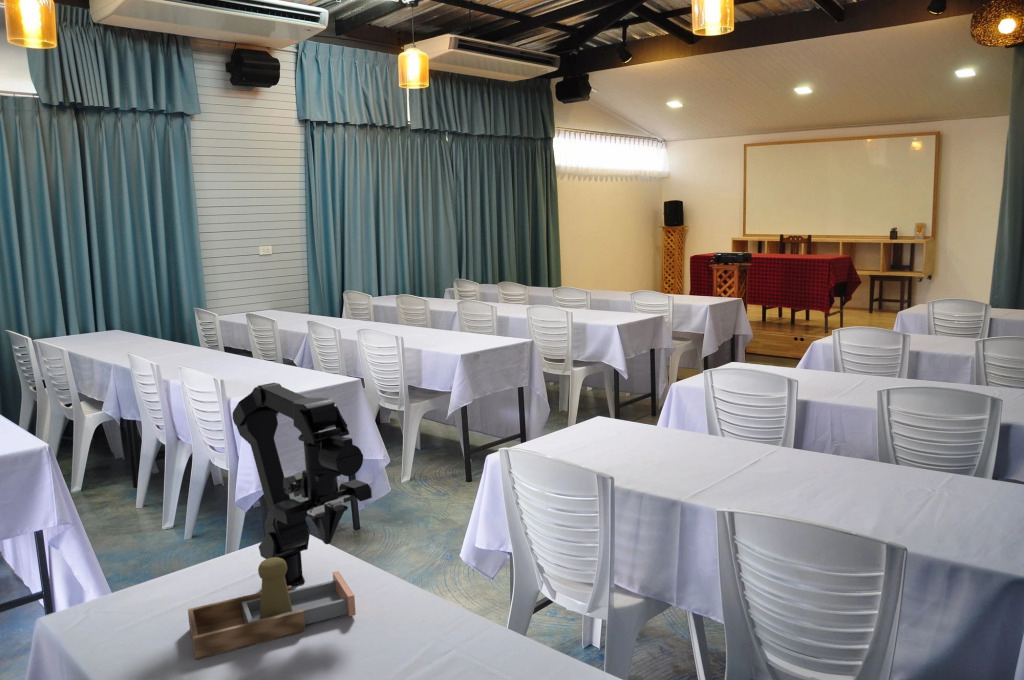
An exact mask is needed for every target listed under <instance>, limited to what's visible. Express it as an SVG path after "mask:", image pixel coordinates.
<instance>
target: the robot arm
mask: <svg viewBox="0 0 1024 680" xmlns="http://www.w3.org/2000/svg"><path fill="white" fill-rule="evenodd" d="M279 413H280V414H282V415H284V416H286V417H288V418H290V419H292V420H293V427H295V428H296V429H297V430H298V431H299V432H300V435H299V436H298V437H297V438H298V440H299V441H301V442H303V449H304V450H303V452H304V462H305V463H304V464H305V466H304V467H305V469H304V470H302V472H301V478H298V479H297V477H296V476H295V475H291V476H286V477H285V473H284V469H283V467H282V463H281V460H280V459H281V458H280V456H279V451H278V448H277V445H276V442H275V435H276V432H277V429H278V426H279V422H278V415H279ZM232 420H233V424H234V425H235V426H236V429H237V431H238V434H239V436H240V437H241V438H242V439H243V440H245V442H246V443H247V444H249V445H250V448H251V451H252V452H251V453H252V455H253V459H254V463H255V466H256V469H257V474H258V477H259V481H260V484H261V485H260V486H261V489H262V492H263V496H264V500H265V503H266V507H267V515H266V519H265V523H264V525H263V527H264V528H263V529H264V534H265V535H264V537H263V539H262V541H261V542H260V544H259V545H258V550H259V554H260V557H262V558H263V559H264V560H266V559H268V558H273V557H278V558H282V559H284V560H285V562H286V564H287V572H286V574H285V579H286V584H287V586H290V585H291V586H295V585H300V584H304V583H305V582H306V580H305V578H304V576H303V563H302V552H303V551H306V550H308V548H309V543H310V535H311V531H310V528H309V525H308V522H307V519H306V517H307V518H310V520H312V522H313V523H314V525H315V527H316V530H317V532H318V533H319V536H320V538H321V540H322V542H323V544H324V545H329V544H331V542H332V541H333V538H334V534H335V532H336V530H337V527H338V525H339V523H340V521H341V519H342V517H343V515H344V513H345V512H346V511H348V510H349V507H348V506H347V505H345V502H344V501H345V500H347V499H349V498H352V497H355V499H356V500H357V501H358V502H364V501H366V500H370V499H372V498H373V492H372V491H373V490H372V489H373V488H372V487H371V485H370V484H369V483H367V482H364V481H361V480H358V479H352V480H349V481H346V482H343V483H340V484H339V483H338V482H339V481H338V477H341V476H345V477H352V476H354V475H355V474H357V473H358V472H359V471H360V469H361V468H362V466H363V461H364V455H363V453H362V450H361V449H360V447H359V446H357V445H355V444H353V438H351V437H345V436H349V435H350V431H349V429H348V424H347V422H346V420H345V419H344V417H343V415H342V413H341V412H340V409H339V408H338V406H337V404H336V402H334V400H333V399H331V398H327V397H307V396H304V395H302V394H300V393H298V392H294V391H293V390H290V389H288V388H286V387H283V386H282V385H281V384H280V383H278V382H271V383H270V382H269V383H265V384H259V385H256V386H255V387H254V388H253V390H252V391H251V392H250V393H248V395H246V396H244V398H242V399H240V400H239V401H238V403H237V405H236V406H235V408H234V409H233V411H232ZM292 493H293V496H294V497H295V498H296V497H299V496H300V495H301V498H304V499H306V498H307V500H304V501H301V502H300V501H298V500H296V499H294V498H291V496H290V494H292Z"/></svg>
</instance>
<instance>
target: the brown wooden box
mask: <svg viewBox="0 0 1024 680" xmlns="http://www.w3.org/2000/svg"><path fill="white" fill-rule="evenodd" d="M292 586H293V585H292ZM292 586H291V585H290V586H287V588H288V591H291V590H293V587H292ZM257 598H261V592H260V591H259V592H257V593H253V594H252V593H251V594H247V595H243V596H238V597H235V598H231V599H227V600H226V599H225V600H221V601H217V602H213V603H208V604H205V605H201V606H195V607H192V608H191V607H190V608H187V614H188V624H189V625H188V627H189V633H190V637H191V643H192V648H193V653H194V656H195V660H197V661H198V660H200V659H204V658H208V657H211V656H215V655H219V654H220V655H221V654H224V653H227V652H231V651H235V650H238V649H243V648H247V647H251V646H254V645H257V644H258V645H259V644H262V643H265V642H269V641H273V640H276V639H282V638H284V637H285V638H286V637H289V636H293V635H297V634H300V633H305V632H306V624H305V619H304V610H303V609H302V610H298V611H294V612H290V613H286V614H282V615H278V616H274V617H270V618H266V619H262V620H258V621H254V622H250V623H246V624H245V621H244V618H243V612H242V602H244V601H248V600H253V599H257Z"/></svg>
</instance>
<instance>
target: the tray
mask: <svg viewBox="0 0 1024 680" xmlns="http://www.w3.org/2000/svg"><path fill="white" fill-rule="evenodd" d="M288 593H289V597H290V602H291V606H292V610H293V611H292V612H294V611H298V610H302V609H303V610H304V619H305V625H309V624H312V623H317V622H321V621H325V620H329V619H332V618H336V617H340V616H344V615H348V617H352V616H356V612H357V611H356V599H355V594H354V592H353V591H352V589H351V588H350V586H349V585H348V583H347V582H346V580H345V579H344V577H343V576H342V574H341V573H340V571H339V570H338V571H334V572H332V580H330V581H326V582H321V583H318V584H317V583H316V584H314V585H308V586H306V587H304V586H303V587H300V588H297V589H292V590H291V591H288ZM260 606H261V598H257V599H253V600H248V601H244V602H242V612H243V618H244V621H245V624H246V623H250V622H254V621H258V620H262V619H260ZM288 613H290V612H288ZM284 614H286V613H284ZM280 615H282V614H280ZM276 616H278V615H276ZM272 617H274V616H272ZM268 618H270V617H268ZM263 619H266V618H263Z"/></svg>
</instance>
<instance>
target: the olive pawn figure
mask: <svg viewBox="0 0 1024 680" xmlns="http://www.w3.org/2000/svg"><path fill="white" fill-rule="evenodd" d="M257 571H258V572H257V573H258V576H259V578H260V579H261V588H260V589H261V590H260V591H261V606H260V619H263V618H268V617H272V616H276V615H280V614H284V613H288V612H292V611H293V610H292V606H291V602H290V597H289V593H288V588H287V584H286V579H285V574H286V572H287V564H286V562H285V560H284V559H282V558H278V557H273V558H268V559H264V560H262V561H261V562H260V564H259V565H258V569H257Z"/></svg>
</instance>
